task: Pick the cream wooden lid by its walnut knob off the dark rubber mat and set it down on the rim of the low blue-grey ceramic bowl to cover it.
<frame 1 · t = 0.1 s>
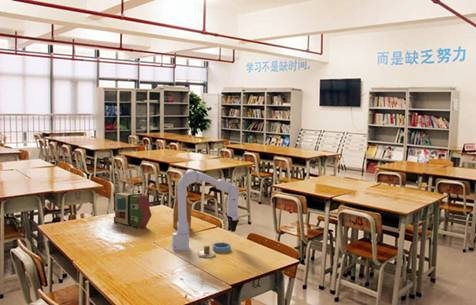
hand: (232, 229, 245), 10 cm above the table, fingers open, 7 cm apart
model house: (130, 226, 284), on the table
bowl: (221, 250, 240), on the table
lid: (206, 254, 231), resting on mat
coffee package: (181, 227, 284), on the table
mat: (206, 255, 231), on the table
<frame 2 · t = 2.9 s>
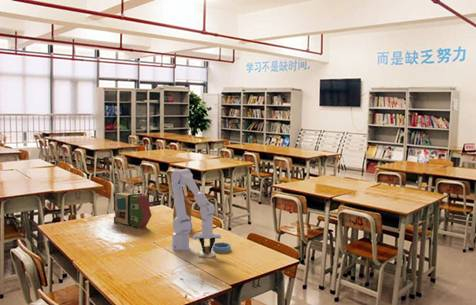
hand: (206, 251, 231), 2 cm above the table, fingers closed on lid, 3 cm apart
lid: (206, 254, 231), resting on mat, touching gripper
everything else where it was.
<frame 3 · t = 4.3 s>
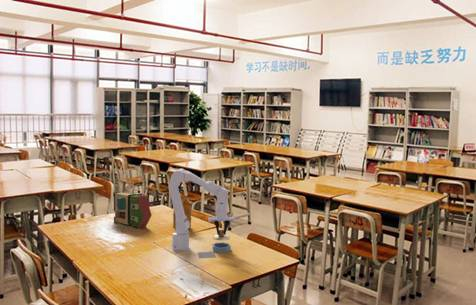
hand: (221, 234, 239), 9 cm above the table, fingers closed on lid, 3 cm apart
lid: (221, 238, 239), point 7 cm above the table, touching gripper
everything else where it was.
when the fingers open (5 cm above the table, at t = 5.8 s): lid stays where it is, resting on bowl.
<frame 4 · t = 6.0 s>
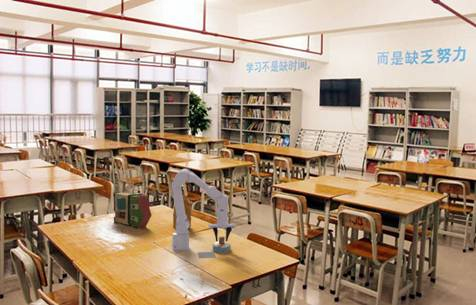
hand: (221, 240, 240), 5 cm above the table, fingers open, 5 cm apart
lid: (221, 245, 239), point 3 cm above the table, touching bowl
everything else where it was.
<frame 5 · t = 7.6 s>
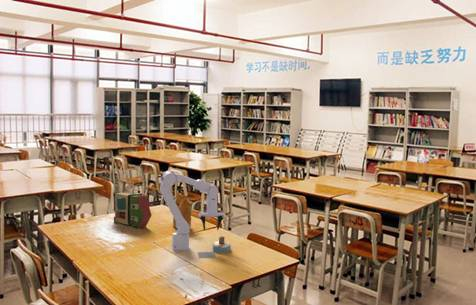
hand: (211, 229, 245), 10 cm above the table, fingers open, 7 cm apart
nothing on the table moved.
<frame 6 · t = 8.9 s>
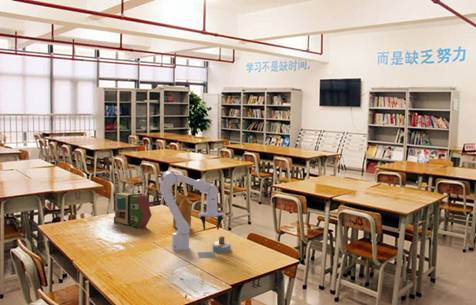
hand: (211, 229, 245), 10 cm above the table, fingers open, 7 cm apart
nothing on the table moved.
at the end: lid 0.3 cm off-centre on the bowl, point 3.0 cm above the bowl's base; lid tilted 0°; the gripper is holding nothing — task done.
